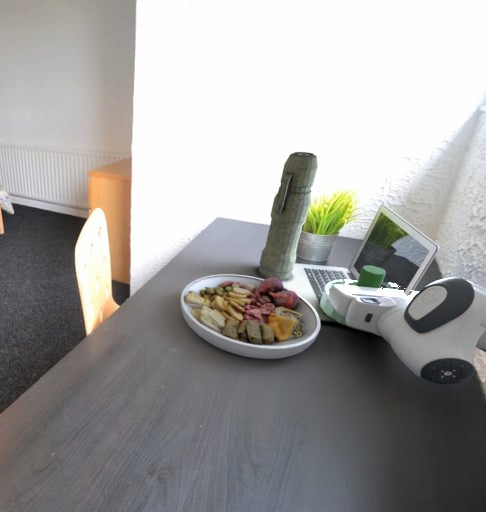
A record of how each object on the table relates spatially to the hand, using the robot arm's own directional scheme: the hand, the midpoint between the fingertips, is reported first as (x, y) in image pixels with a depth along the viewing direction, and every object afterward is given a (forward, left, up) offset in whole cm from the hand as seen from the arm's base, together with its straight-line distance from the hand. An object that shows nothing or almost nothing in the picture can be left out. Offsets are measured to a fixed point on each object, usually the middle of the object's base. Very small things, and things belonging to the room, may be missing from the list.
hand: (367, 283), depth 87 cm
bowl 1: (+28, +10, -8) cm, 31 cm away
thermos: (+15, -17, -9) cm, 24 cm away
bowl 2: (0, +1, -8) cm, 8 cm away
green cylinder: (0, +1, -8) cm, 8 cm away
